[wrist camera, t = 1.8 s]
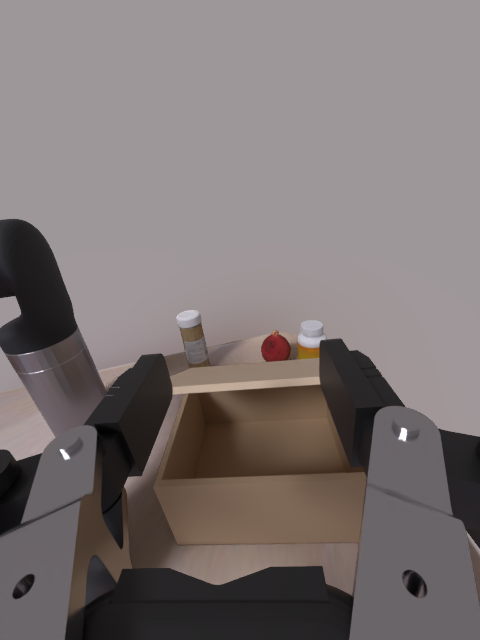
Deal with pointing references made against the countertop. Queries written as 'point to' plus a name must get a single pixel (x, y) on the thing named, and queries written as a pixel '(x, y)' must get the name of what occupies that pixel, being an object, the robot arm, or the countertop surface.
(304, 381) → the carton flap
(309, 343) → the supplement bottle
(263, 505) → the carton
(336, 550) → the countertop surface
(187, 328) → the sprinkles bottle
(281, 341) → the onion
